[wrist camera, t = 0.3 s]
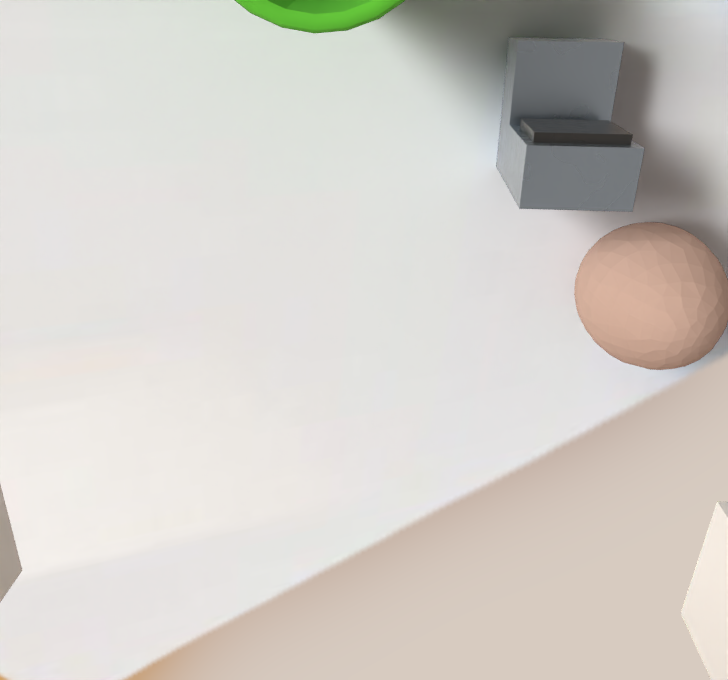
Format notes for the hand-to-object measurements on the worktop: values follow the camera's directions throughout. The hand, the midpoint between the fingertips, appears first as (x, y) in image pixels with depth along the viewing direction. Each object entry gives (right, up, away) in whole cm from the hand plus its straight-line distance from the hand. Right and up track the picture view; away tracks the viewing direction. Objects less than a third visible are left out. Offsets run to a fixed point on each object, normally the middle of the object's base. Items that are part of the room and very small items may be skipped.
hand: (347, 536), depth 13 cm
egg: (+14, +8, +24) cm, 29 cm away
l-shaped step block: (+9, +15, +21) cm, 27 cm away
